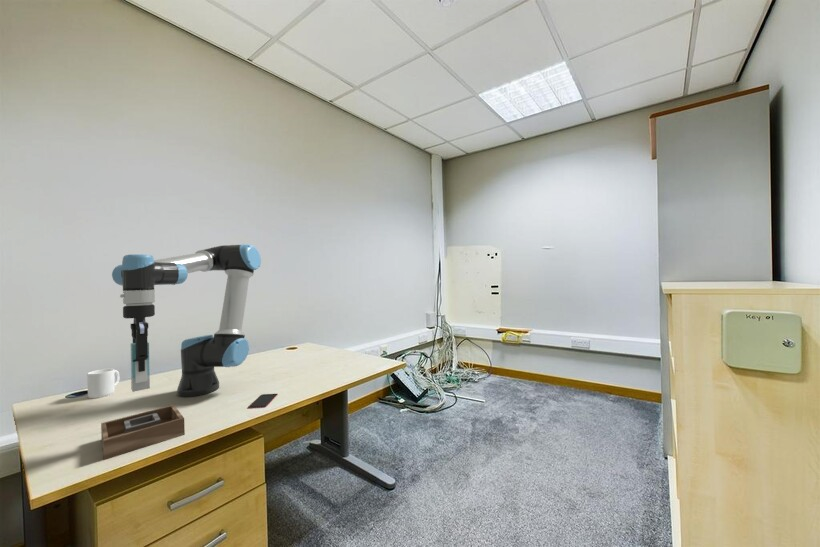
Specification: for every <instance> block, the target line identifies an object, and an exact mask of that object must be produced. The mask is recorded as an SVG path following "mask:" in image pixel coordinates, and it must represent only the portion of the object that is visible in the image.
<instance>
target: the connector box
mask: <svg viewBox="0 0 820 547" xmlns="http://www.w3.org/2000/svg"><path fill="white" fill-rule="evenodd" d="M100 430H101V431H100V434H101V447H102V453H103V460H107V459H111V458H113V457H114V458H115V457H118V456H120V455H123V454H127V453H130V452H134V451H136V450H140V449H143V448H146V447H149V446H152V445H155V444H156V445H157V444H159V443H163V442H166V441H169V440H172V439H174V438H178V437H181V436H184V435H185V434H186V432H185V431H186V430H185V417H184V416H183V414H181V412H180V411H179V409H178V408H177V406H176V405H175V404H172V405H168V406H163V407H160V408H156V409H153V410H148V411H144V412H139V413H136V414H132V415H128V416H123V417H119V418H116V419H112V420H108V421H104V422H100Z"/></svg>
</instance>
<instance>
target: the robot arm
mask: <svg viewBox="0 0 820 547" xmlns="http://www.w3.org/2000/svg"><path fill="white" fill-rule="evenodd" d="M261 261H262V259H261V254H260V252H259V250H258V248H256V246H254V245H253V244H244V243H242V244H231V245H230V244H229V245H227V244H226V245H219V246H214V247H210V248H209V247H208V248H205V249H200V250H197V251H196V252H194V253H191V254H185V255H179V256H172V257H166V258H161V259H160V258H159V259H155V258H154V256H153V255H151V254H134V253H133V254H126V255H124V256H123V257H122V264H119V265H117V266H115V267H114V268H113V269H112V272H111V277H112V281H113V282H114V283H115V284H117V285H119V286H122V294H120V295H119V298H122V304H123V307H122V317H123V319H133V322H132V323H130V331H131V338H132V343H135V346H136V359H135V360H133V362H135V383H140V382H145V381H147V359H148V346H147V342H148V336H149V333H148V332H149V331H148V329H149V322H148V321H146V318H151V317H154V316H155V314H156V313H155V310H156V309H155V308H156V307H155V305H154V304H155V301H156V300H155V298H156V297H155V296H156V295H155V286H157V285H158V286H163V285H166V286H167V285H168V286H169V285H171V286H175V285H180V284H183V283H184V282H185V281H186V280H187V279H188V274H191V273H195V272H199V271H201V272H206V273H207V272H211V271H223V272H224V273H225V275H227V279H226V286H225V291H224V298H223V304H222V309H221V316H220V323H219V326H218V327H219V329H218V330H217V331H216V332H214V333H213V334H206V335H202V336H195V337H191V338H187V339H184V340H183V341H182V342H181V345H180V346H181V348H180V358H181V359H180V361H181V364H180V365H181V377H180V380H179V383H178V386H177V389H176V395H177V396H178V397H182V398H189V397H190V398H191V397H197V396H203V395H206V394H210V393H212V392H215V391H217V390H218V389H220V380H219V378H218V376H217V374H216V371H215V368H233V367H238V366H240V365H242V363H244V361H245V360H246V359H247V357H248V355H249V351H250V344H249V341H248V340H247V339H246V338H245V336H246V334H244V332H243V324H244V317H245V310H246V309H245V308H246V303H247V302H246V301H247V296H248V287H249V281H250V278H252V277H253V276H254V272H255V271H256V270H258V269H259V268H260V267H261V264H262V262H261ZM153 303H154V304H153ZM140 355H141V356H140Z"/></svg>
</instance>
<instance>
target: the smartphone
mask: <svg viewBox="0 0 820 547" xmlns="http://www.w3.org/2000/svg"><path fill="white" fill-rule="evenodd" d="M277 396H278V393H264V394H262V393H261V394H260V395H259V396H258V397H257V398H256V399H255V400H254V401H252V402H251V403H250V404H249V405H248V406H247V408H246V409H248V410H249V409H250V410H252V409H265V408H267V407H268V406H269V405H270V403H272V402H273V401H274V399H275V398H276V397H277Z"/></svg>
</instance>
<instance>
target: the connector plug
mask: <svg viewBox="0 0 820 547" xmlns="http://www.w3.org/2000/svg"><path fill="white" fill-rule="evenodd" d="M147 346H148V359H147V381H145V382H140V383H135V362H133V360H135V359H136V346H135V343H133V342H132V343H130V380H131V381H130V382H131V383H130V384H131V385H130V386H131V388H130V390H131V392H133V393H135V392H140V391H144V390H148V389H150V388H151V386H150V384H151V383H150V382H151V381H150V380H151V379H150V378H151V377H150V375H151V374H150V373H151V372H150V343H149V341H147ZM140 356H141V355H140Z"/></svg>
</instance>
